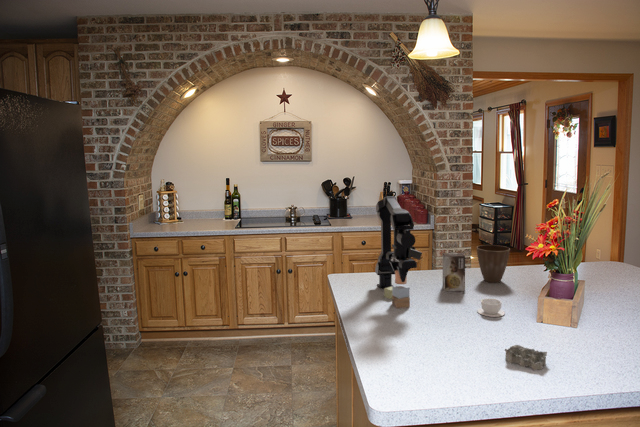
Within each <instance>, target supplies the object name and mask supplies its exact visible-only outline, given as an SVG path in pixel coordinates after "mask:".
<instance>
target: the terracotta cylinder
mask: <svg viewBox="0 0 640 427" xmlns="http://www.w3.org/2000/svg"><path fill="white" fill-rule="evenodd" d="M394 275H395V276H394V284H396V285H401V284H403V285H406V284H407V283H408V282H407V281H408V280H407V279H408V277H407V276H406V279H405V282H402V281H401V278H400V275H399V272H398V270H395V274H394Z"/></svg>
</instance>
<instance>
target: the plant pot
mask: <svg viewBox="0 0 640 427" xmlns="http://www.w3.org/2000/svg"><path fill="white" fill-rule="evenodd" d="M510 252H511V248H510V247H508V246H504V245H497V244H496V245H495V244H483V245H482V244H481V245H477V246H476V255H477V261H478V265H479V268H480V272H481V275H482V278H483V281H485V282H486V283H493V284H494V283H495V284H496V283H500V282H502V279H503V276H504V275H505V271H506V269H507V266H508V262H509V258H510Z"/></svg>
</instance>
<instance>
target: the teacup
mask: <svg viewBox="0 0 640 427" xmlns="http://www.w3.org/2000/svg"><path fill="white" fill-rule="evenodd" d="M480 303H481V307H480V308H478V309H477V310H476V312H477V313H478V314H480V315H482V316H485V317H492V318H493V317H494V318H499V317H502V316H504V315H505V311H503V310H502V309H501V308H502V301H501V300H499V299H495V298H483V299H481V300H480Z"/></svg>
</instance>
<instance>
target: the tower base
mask: <svg viewBox="0 0 640 427" xmlns="http://www.w3.org/2000/svg"><path fill="white" fill-rule="evenodd" d="M410 302H411V298H410V296H409V297H406V298H400V299H398V298H397V297H395V296H393V295H392V299H391V304H392V305H393V306H394V307H395V308H396V309H402V308H410V307H411V306H410V305H411V304H410Z"/></svg>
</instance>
